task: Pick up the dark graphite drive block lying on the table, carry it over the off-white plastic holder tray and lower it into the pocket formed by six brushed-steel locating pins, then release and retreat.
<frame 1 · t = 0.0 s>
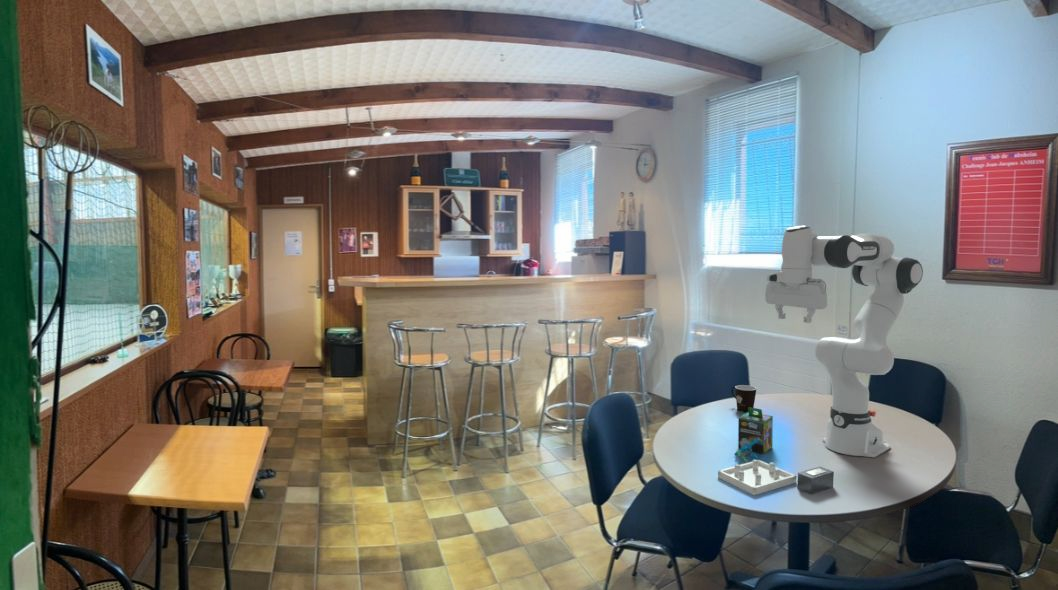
hand: (794, 320, 180), 48 cm above the table, fingers open, 8 cm apart
coffee mug: (743, 409, 245), on the table
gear: (746, 458, 192), on the table
holder tray: (756, 480, 174), on the table
chalk box: (754, 448, 201), on the table
drive block: (815, 488, 169), on the table
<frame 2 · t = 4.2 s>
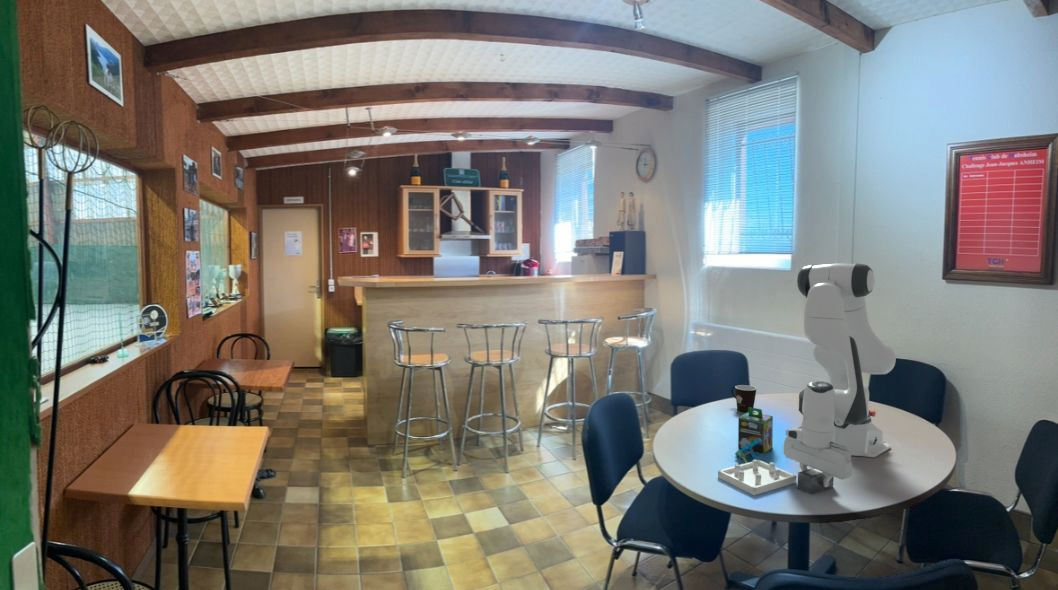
hand: (815, 482, 168), 2 cm above the table, fingers closed on drive block, 4 cm apart
drive block: (815, 487, 168), on the table, touching gripper
everything else where it was.
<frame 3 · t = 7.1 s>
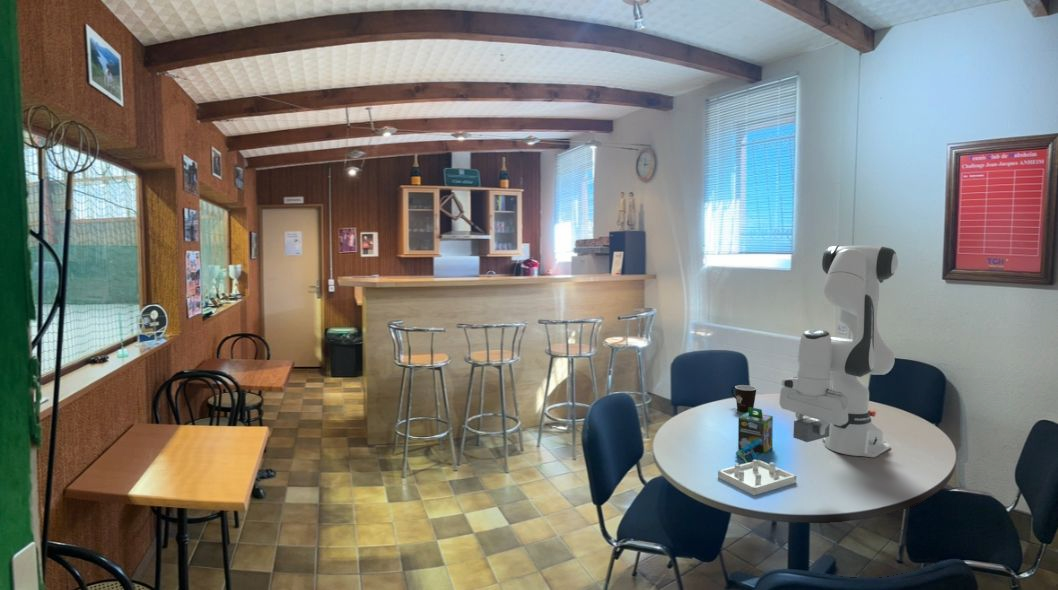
hand: (811, 431, 167), 17 cm above the table, fingers closed on drive block, 4 cm apart
drive block: (811, 436, 167), point 16 cm above the table, touching gripper
everything else where it was.
when the fingers open (4 cm above the table, at t = 10.2 s): drive block stays where it is, resting on holder tray.
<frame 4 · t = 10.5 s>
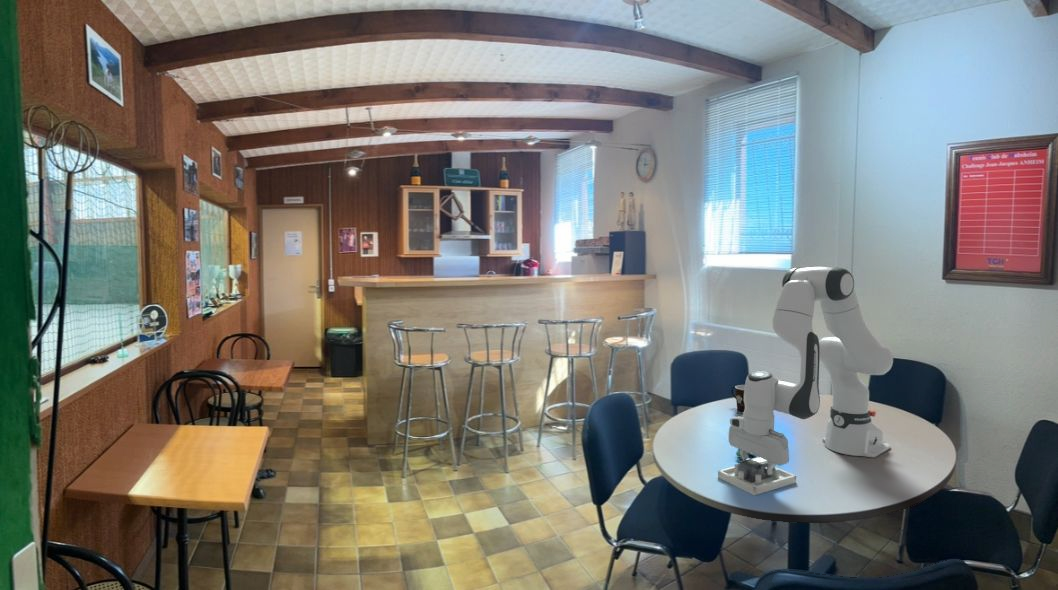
hand: (757, 468, 174), 4 cm above the table, fingers open, 7 cm apart
drive block: (756, 476, 174), point 1 cm above the table, touching holder tray
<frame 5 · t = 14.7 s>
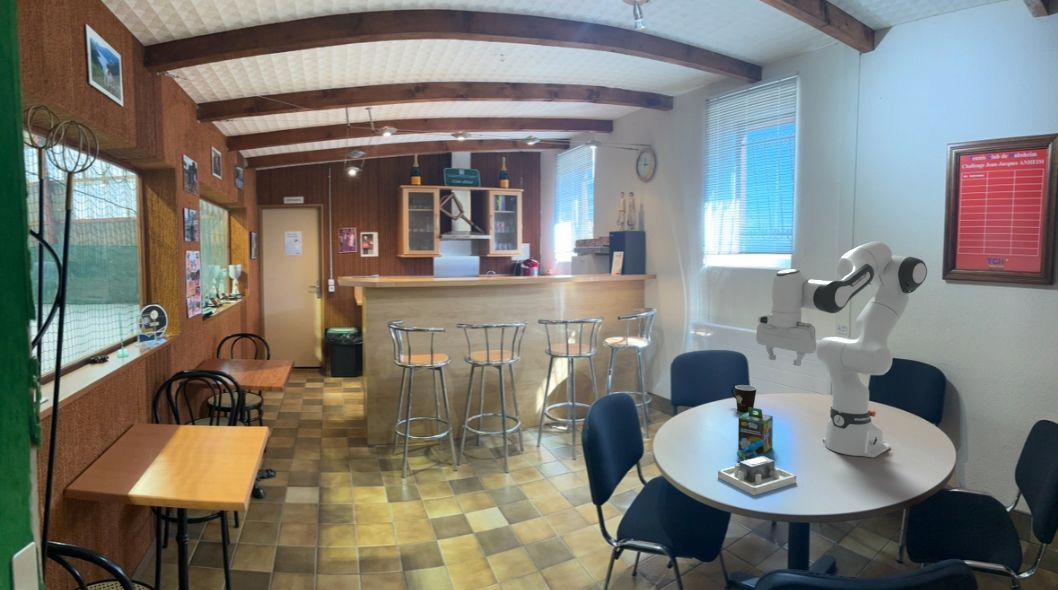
hand: (784, 362, 183), 34 cm above the table, fingers open, 8 cm apart
at the end: drive block 0.0 cm off-centre on the holder tray, point 1.0 cm above the holder tray's base; drive block tilted 0°; the gripper is holding nothing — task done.
